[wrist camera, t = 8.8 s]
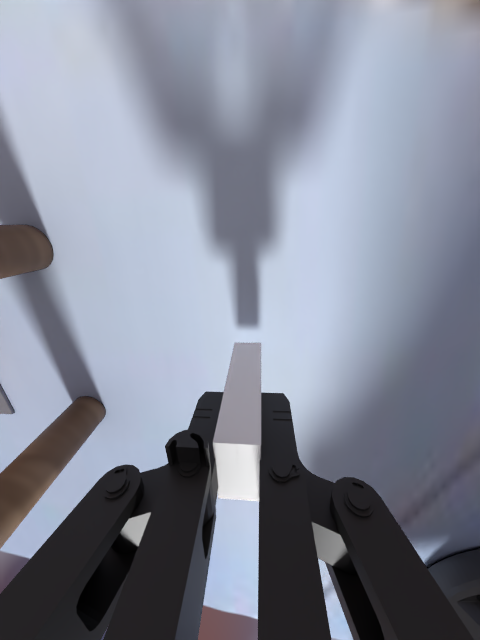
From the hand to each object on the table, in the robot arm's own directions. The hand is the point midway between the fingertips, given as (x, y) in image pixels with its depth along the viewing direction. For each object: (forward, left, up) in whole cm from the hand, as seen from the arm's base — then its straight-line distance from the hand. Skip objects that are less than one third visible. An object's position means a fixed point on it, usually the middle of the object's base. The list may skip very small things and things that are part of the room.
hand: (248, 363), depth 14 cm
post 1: (+13, +6, -2) cm, 15 cm away
